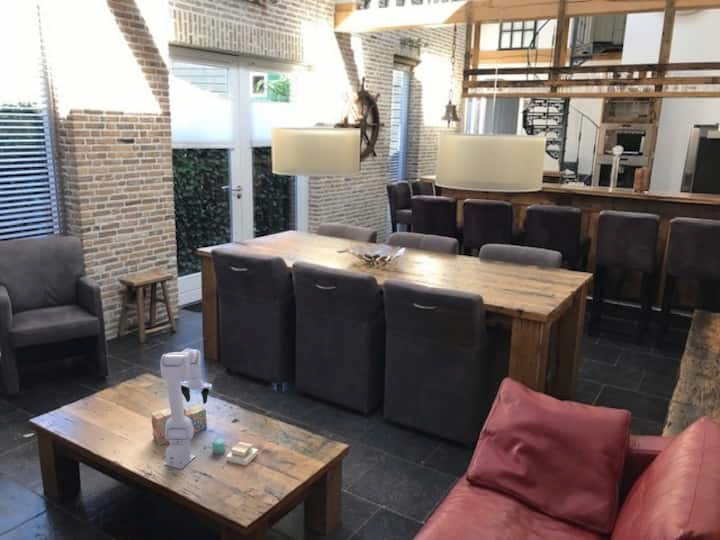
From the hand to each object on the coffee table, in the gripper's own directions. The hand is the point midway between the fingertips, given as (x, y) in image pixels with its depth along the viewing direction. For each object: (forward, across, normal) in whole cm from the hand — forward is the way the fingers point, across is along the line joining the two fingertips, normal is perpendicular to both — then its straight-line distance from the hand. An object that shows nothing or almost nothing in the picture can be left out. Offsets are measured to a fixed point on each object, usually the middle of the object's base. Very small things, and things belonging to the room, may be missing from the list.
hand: (196, 401), depth 260 cm
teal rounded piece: (+8, -17, +20) cm, 28 cm away
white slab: (+8, -28, +23) cm, 37 cm away
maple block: (+5, -28, +22) cm, 36 cm away
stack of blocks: (+10, +4, +10) cm, 15 cm away
